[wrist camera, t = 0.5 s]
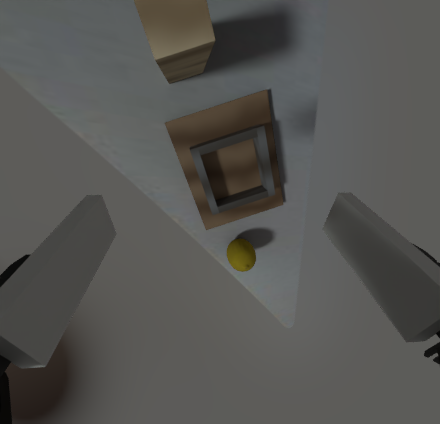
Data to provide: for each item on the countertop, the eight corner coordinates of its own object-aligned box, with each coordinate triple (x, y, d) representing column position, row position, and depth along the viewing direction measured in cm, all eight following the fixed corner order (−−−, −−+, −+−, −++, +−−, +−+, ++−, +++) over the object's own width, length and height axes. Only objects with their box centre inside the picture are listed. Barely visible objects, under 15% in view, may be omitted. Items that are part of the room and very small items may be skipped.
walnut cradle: (165, 122, 30) (162, 123, 26) (264, 90, 30) (275, 87, 26) (205, 227, 39) (207, 238, 36) (281, 202, 39) (290, 211, 36)
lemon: (234, 227, 40) (244, 251, 33) (253, 238, 42) (267, 263, 35) (218, 246, 42) (225, 273, 35) (238, 256, 44) (248, 283, 37)
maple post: (154, 39, 25) (122, -31, 13) (190, 27, 25) (194, -54, 13) (169, 83, 28) (155, 60, 15) (202, 72, 28) (215, 40, 15)
